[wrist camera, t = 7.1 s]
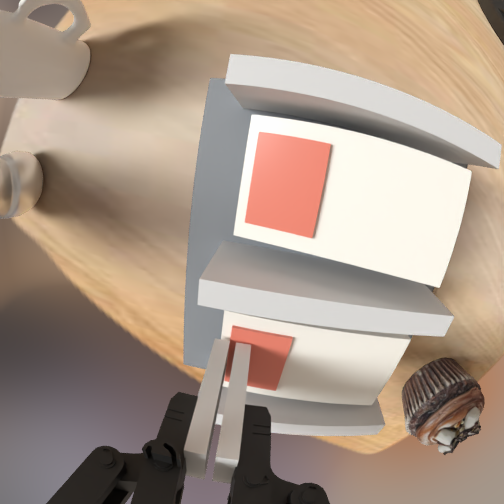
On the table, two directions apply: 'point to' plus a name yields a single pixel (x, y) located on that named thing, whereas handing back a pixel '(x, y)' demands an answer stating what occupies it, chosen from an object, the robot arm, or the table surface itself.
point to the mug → (42, 53)
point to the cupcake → (442, 404)
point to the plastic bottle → (19, 183)
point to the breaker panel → (295, 262)
